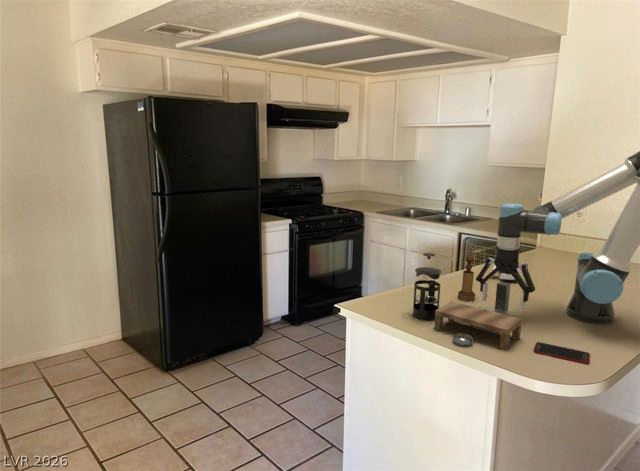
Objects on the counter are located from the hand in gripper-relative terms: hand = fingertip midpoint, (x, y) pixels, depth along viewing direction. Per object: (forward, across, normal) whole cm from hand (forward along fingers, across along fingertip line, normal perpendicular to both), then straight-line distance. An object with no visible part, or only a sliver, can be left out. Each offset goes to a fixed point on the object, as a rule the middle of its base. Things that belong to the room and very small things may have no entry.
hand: (502, 305), depth 169 cm
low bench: (+4, 0, +22) cm, 22 cm away
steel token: (+4, 0, +32) cm, 32 cm away
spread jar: (+4, +16, -44) cm, 47 cm away
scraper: (+4, 0, +8) cm, 9 cm away
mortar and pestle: (+4, +17, -8) cm, 19 cm away
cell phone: (+4, -25, +19) cm, 32 cm away
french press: (+4, +20, +19) cm, 28 cm away
